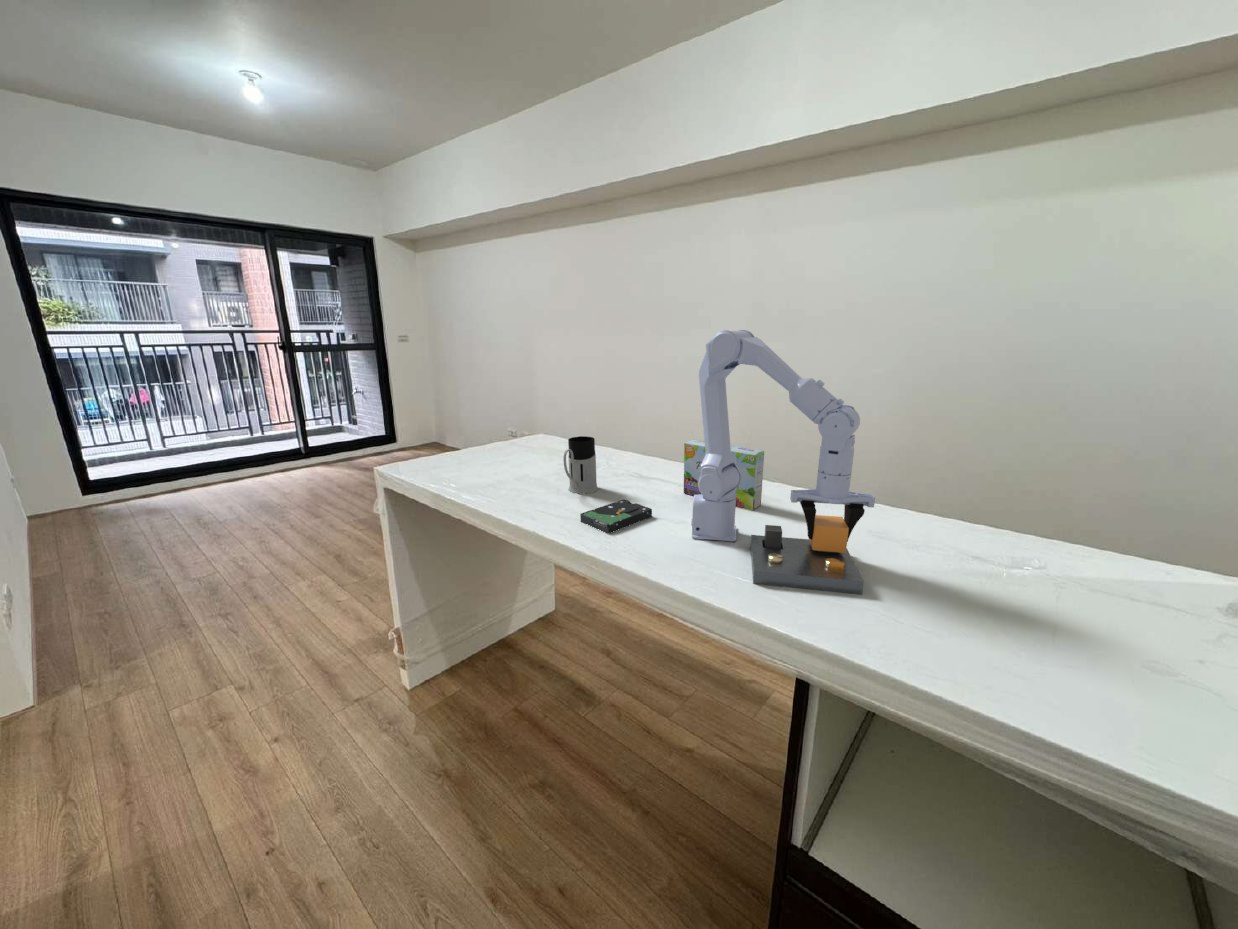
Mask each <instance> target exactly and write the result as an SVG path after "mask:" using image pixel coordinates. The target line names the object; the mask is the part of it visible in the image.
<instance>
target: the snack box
mask: <svg viewBox="0 0 1238 929" xmlns="http://www.w3.org/2000/svg"><path fill="white" fill-rule="evenodd" d="M683 447H684V449H683V451H684V452H683V457H684V458H683V494H684V493H685V494H684V495H689V496H693V497H694V495H699V494H701V493H700V491H699V488H698V479H699V477H700V474H701V469H700V466H701V464H702V462H703V459H704V457H705V455H706V452H705V441H704V440H700V439H699V440H698V439H692V440H689V441H685V442H684V446H683ZM730 447H731V452H732V454H733V455H734V456H735V457H736V463H737V466H738V468H739V470H740V472H741V477H742V478H741V482H740V484H739V486H738V487H736V491H735V492H736V508H740V509H743V508H744V509H745V510H747V511H751V512H753V511H754V510H755V509H757V508H758V507H761V505H762V492H763V476H764V462H765V450H762V449H761V450H760V449H755V448H750V447H749V448H748V447H743V446H736V445H731V444H730ZM744 509H743V510H744Z"/></svg>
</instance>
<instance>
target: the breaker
mask: <svg viewBox="0 0 1238 929" xmlns="http://www.w3.org/2000/svg"><path fill="white" fill-rule="evenodd" d="M764 527H765V528H764V536H765V537H764V546H765V548H772V549H781V542H782V537H783V529H782V526H781V525H773V524H765V526H764Z"/></svg>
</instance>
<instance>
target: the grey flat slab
mask: <svg viewBox="0 0 1238 929" xmlns="http://www.w3.org/2000/svg"><path fill="white" fill-rule="evenodd" d="M764 537H765V535H759V534H757V535H756V534H751V535H750V556H751V571H752V572H751V573H752V584H756V585H763V586H774V587H783V586H785V587H784V588H795V589H803V590H804V589H805V590H813V591H814V590H815V591H822V592H824V591H826V592H831V593H832V592H834V593H842V594H843V593H845V594H855V595H863V590H864V589H863V588H864V582H865V581H864V579H863V577H862V575H861V574H860V571H859V569H858V567H857V566H856V563H855V561H854V560H853V558H852V555H851V554H850V551H849V550H848V548H847V547H846V553H840V552H836V554H832V553H820V552H817V551H816V550H813V549H812V546H811V543H810V541H809V538H797V537H783V536H782V542H781V549H772V548H765V546H764Z"/></svg>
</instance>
